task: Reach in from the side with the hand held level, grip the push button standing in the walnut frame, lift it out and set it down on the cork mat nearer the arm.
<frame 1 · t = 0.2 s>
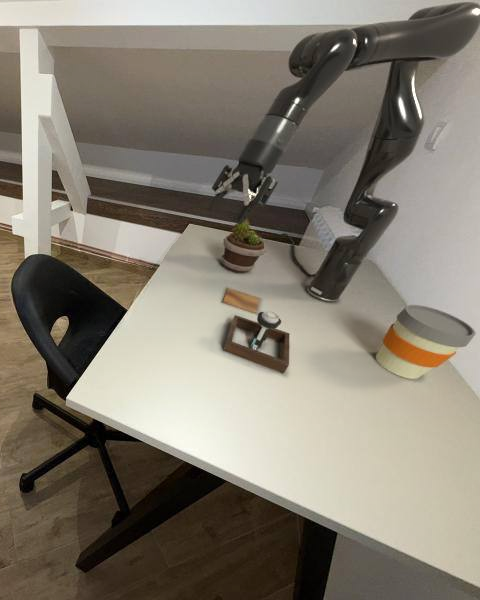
hand: (223, 216, 72), 31 cm above the table, tool tilted 20°, fingers open, 8 cm apart
flowerpot: (235, 267, 121), on the table
walnut frame: (254, 346, 82), on the table
reusable coffee cup: (396, 366, 80), on the table
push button: (254, 346, 83), on the table
cork mat: (241, 300, 101), on the table
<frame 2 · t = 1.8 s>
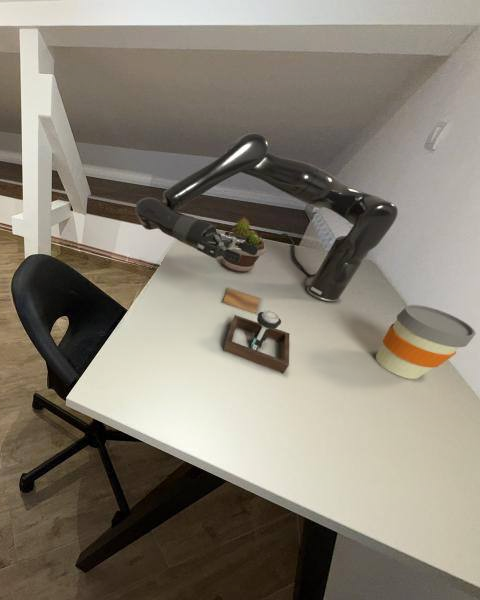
hand: (248, 255, 77), 22 cm above the table, tool horizontal, fingers open, 8 cm apart
nothing on the table moved.
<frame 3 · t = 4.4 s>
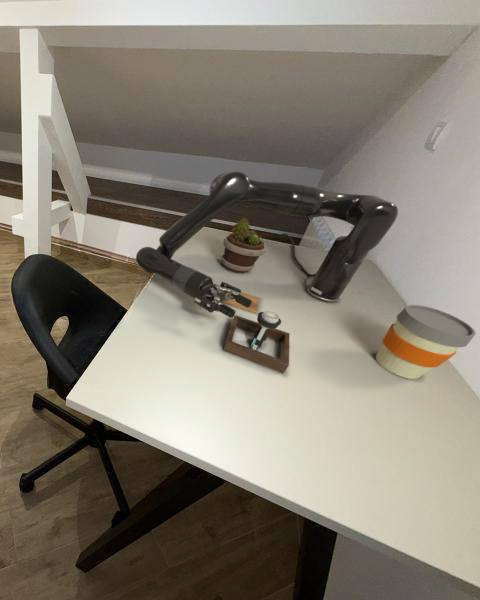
hand: (242, 309, 82), 8 cm above the table, tool horizontal, fingers open, 8 cm apart
nothing on the table moved.
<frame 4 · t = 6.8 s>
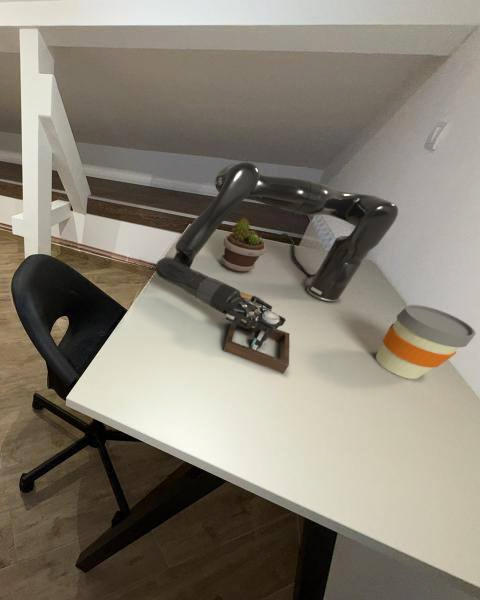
hand: (278, 326, 76), 8 cm above the table, tool horizontal, fingers closed on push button, 5 cm apart
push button: (254, 346, 82), on the table, touching gripper
everything else where it was.
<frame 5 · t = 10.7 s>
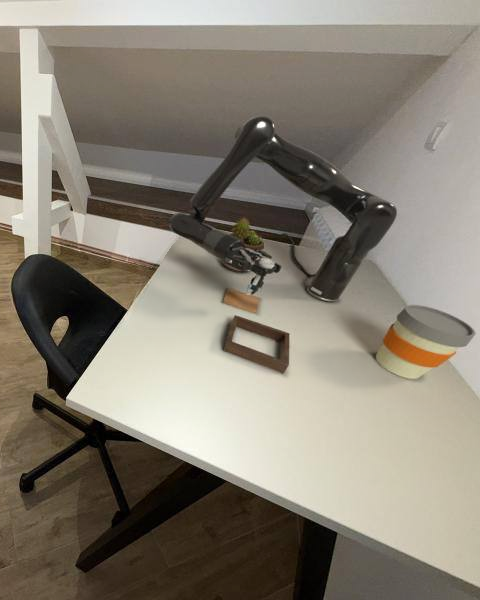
hand: (272, 271, 83), 16 cm above the table, tool horizontal, fingers closed on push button, 5 cm apart
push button: (251, 292, 89), point 8 cm above the table, touching gripper
everything else where it was.
when the fingers open (9 cm above the table, at t = 15.0 s): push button stays where it is, resting on cork mat.
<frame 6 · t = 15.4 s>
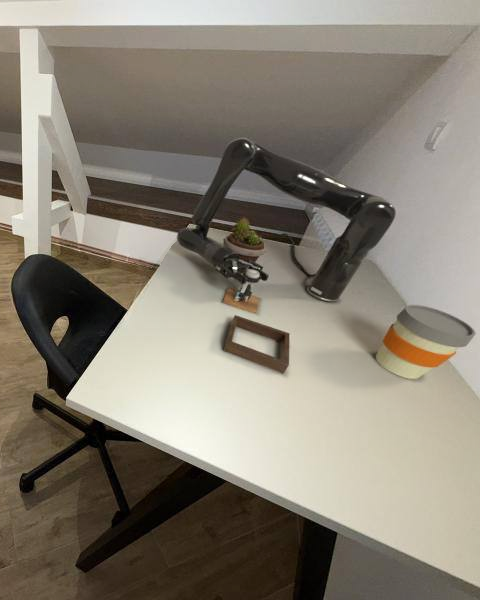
hand: (256, 280, 94), 9 cm above the table, tool horizontal, fingers open, 8 cm apart
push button: (240, 299, 101), resting on cork mat
everything else where it was.
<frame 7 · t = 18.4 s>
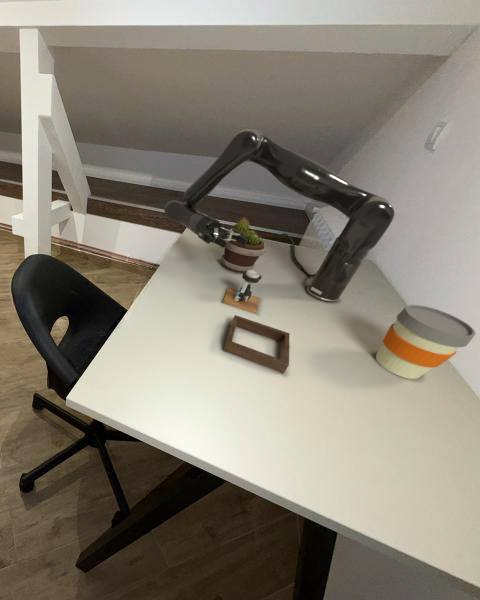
hand: (236, 243, 100), 16 cm above the table, tool horizontal, fingers open, 8 cm apart
nothing on the table moved.
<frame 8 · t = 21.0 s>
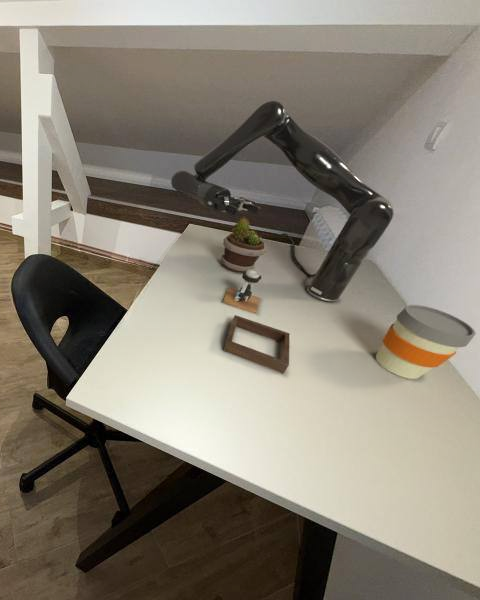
hand: (247, 211, 94), 26 cm above the table, tool horizontal, fingers open, 8 cm apart
nothing on the table moved.
at the end: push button inside the target area on the cork mat (0.3 cm from its centre), point 0.2 cm above the cork mat's base; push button tilted 0°; the gripper is holding nothing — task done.
